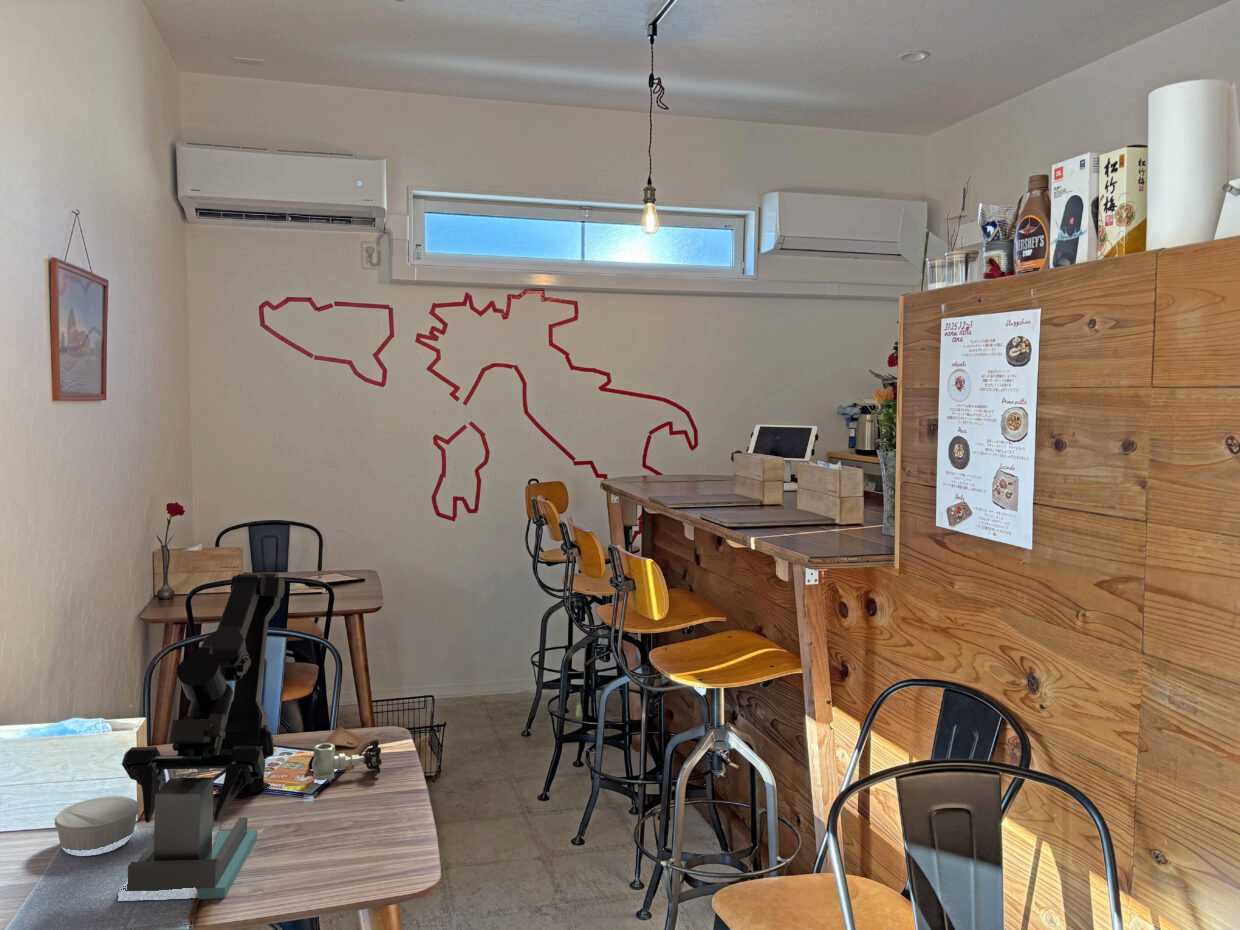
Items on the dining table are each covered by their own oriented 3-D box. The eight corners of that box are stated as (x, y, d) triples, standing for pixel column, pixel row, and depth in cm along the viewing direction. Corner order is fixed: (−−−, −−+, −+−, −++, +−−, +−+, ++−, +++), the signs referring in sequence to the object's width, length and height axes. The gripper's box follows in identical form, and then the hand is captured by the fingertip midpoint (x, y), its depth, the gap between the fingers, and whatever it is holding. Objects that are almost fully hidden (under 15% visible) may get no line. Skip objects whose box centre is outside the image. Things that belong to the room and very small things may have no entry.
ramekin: (40, 862, 133) (41, 827, 132) (74, 829, 144) (74, 796, 144) (121, 860, 134) (122, 825, 134) (148, 827, 145) (149, 795, 145)
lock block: (168, 861, 131) (170, 777, 131) (211, 860, 132) (213, 777, 132) (153, 882, 125) (155, 794, 125) (198, 881, 126) (200, 793, 126)
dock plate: (163, 841, 140) (164, 810, 140) (257, 839, 143) (257, 808, 142) (116, 902, 123) (117, 866, 122) (224, 898, 125) (225, 862, 125)
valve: (314, 789, 163) (381, 780, 168) (315, 753, 162) (382, 745, 168) (308, 776, 169) (373, 767, 174) (309, 742, 168) (374, 734, 174)
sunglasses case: (353, 772, 171) (335, 742, 170) (320, 790, 170) (303, 760, 170) (374, 740, 189) (358, 713, 188) (344, 756, 188) (329, 729, 188)
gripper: (128, 693, 130) (94, 799, 120) (262, 692, 133) (241, 796, 123) (147, 728, 138) (116, 830, 128) (273, 727, 141) (254, 827, 131)
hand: (181, 820), depth 127 cm, fingers open, 9 cm apart
